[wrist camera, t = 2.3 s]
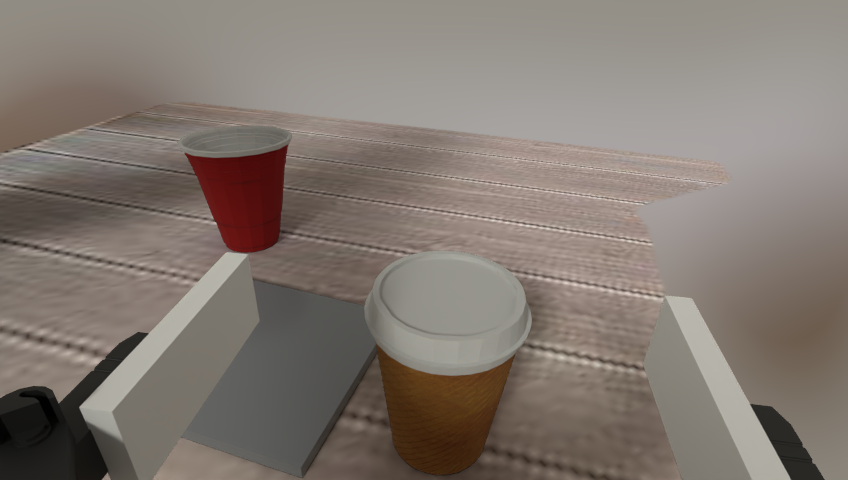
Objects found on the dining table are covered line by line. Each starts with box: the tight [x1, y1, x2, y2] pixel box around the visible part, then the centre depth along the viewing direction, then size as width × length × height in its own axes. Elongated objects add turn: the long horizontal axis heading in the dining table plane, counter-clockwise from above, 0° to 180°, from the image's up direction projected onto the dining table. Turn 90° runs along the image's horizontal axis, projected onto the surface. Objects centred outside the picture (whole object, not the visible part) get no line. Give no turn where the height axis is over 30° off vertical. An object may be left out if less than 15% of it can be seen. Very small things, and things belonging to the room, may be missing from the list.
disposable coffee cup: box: [364, 251, 532, 475], centre depth 31 cm, size 10×10×12 cm
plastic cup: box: [177, 126, 292, 252], centre depth 53 cm, size 11×11×12 cm
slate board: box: [181, 280, 377, 478], centre depth 39 cm, size 16×16×1 cm
